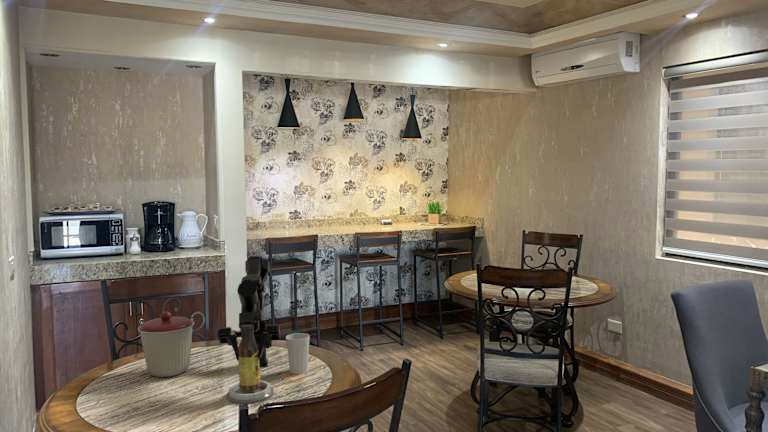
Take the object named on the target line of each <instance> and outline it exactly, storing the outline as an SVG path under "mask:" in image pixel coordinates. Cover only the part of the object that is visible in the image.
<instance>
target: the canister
mask: <svg viewBox="0 0 768 432" xmlns="http://www.w3.org/2000/svg"><path fill="white" fill-rule="evenodd" d="M193 326H195V321H194V320H192V319H190V318H189V317H184V316H178V315H177V316H176V315H175V316H172V314H171V312H170V311H163V312H162V313H160V317H157V318H154V319H149V320H147V321H144V323H142V324H141V325H139V326H138V328H137V331H138V332H139V333H140V339H141V344H142V350H143V355H144V360H145V364H146V368H147V371H148V373H149V375H151V376H153V377H157V378H158V377H159V378H165V377H166V378H168V377H174V376H177V375H180V374H182V373H183V374H184V373H185V372H186V371H187V370H188V369H189V367H190V365H191V364H190V363H191V356H192V354H191V353H192V343H193V342H192V338H193Z"/></svg>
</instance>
